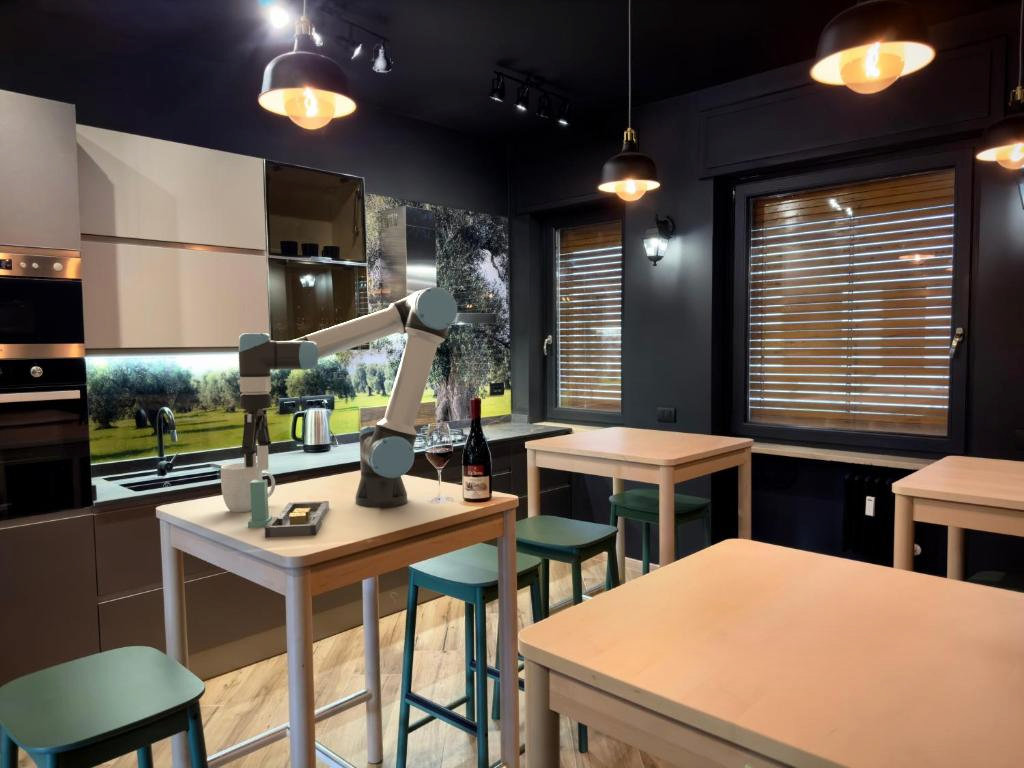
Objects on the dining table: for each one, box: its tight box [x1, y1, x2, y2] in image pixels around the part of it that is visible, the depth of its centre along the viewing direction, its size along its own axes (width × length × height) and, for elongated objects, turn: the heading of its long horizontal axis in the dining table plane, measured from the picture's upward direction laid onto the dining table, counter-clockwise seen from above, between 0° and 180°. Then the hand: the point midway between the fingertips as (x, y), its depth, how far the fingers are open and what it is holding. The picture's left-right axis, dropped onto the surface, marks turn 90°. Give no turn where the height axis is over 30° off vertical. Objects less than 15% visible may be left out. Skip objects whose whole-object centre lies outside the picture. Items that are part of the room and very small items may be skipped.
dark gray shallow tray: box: [277, 500, 330, 526], centre depth 187 cm, size 11×18×2 cm, turn 7°
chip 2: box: [293, 508, 311, 521], centre depth 185 cm, size 4×4×2 cm
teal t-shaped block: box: [247, 479, 273, 529], centre depth 180 cm, size 5×5×12 cm
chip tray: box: [264, 515, 323, 539], centre depth 173 cm, size 12×10×3 cm
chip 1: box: [289, 512, 306, 525], centre depth 180 cm, size 4×4×2 cm
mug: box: [220, 462, 276, 513], centre depth 198 cm, size 15×11×13 cm
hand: (257, 474), depth 179 cm, fingers open, 13 cm apart
